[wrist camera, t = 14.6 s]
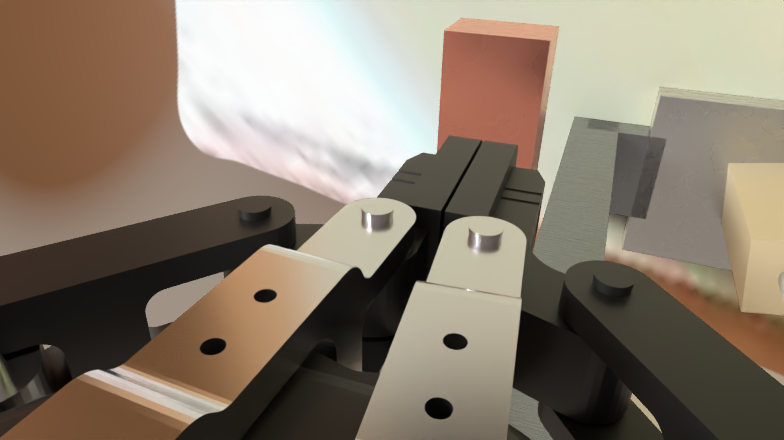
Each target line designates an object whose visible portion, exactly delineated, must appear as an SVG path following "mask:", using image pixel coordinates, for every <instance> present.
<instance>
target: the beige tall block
mask: <svg viewBox="0 0 784 440" xmlns="http://www.w3.org/2000/svg"><path fill="white" fill-rule="evenodd" d="M722 229H723V233H724V237H725V242H726V246H727V251H728V255H729V260H730V264H731V269H732V273H733V278H734V282H735V286H736V291H737V295H738V300H739V304H740V309H741V312H750V313H762V314H774V315H784V163H729V164H728V172H727V181H726V190H725V198H724V207H723V215H722Z"/></svg>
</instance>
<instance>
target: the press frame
mask: <svg viewBox="0 0 784 440" xmlns="http://www.w3.org/2000/svg"><path fill="white" fill-rule="evenodd" d="M729 163H784V101H779V100H771V99H762V98H753V97H744V96H735V95H726V94H717V93H709V92H700V91H691V90H682V89H673V88H664V87H660V89H659V93H658V97H657V101H656V105H655V109H654V113H653V117H652V121H651V125H650V126H642V125H635V124H627V123H619V122H612V121H604V120H597V119H589V118H582V117H574V120H573V124H572V127H571V130H570V133H569V137H568V140H567V143H566V146H565V150H564V153H563V156H562V159H561V163H560V166H559V169H558V172H557V176H556V179H555V182H554V185H553V189H552V192H551V195H550V198H549V202H548V205H547V208H546V211H545V214H544V218H543V221H542V224H541V227H540V231H539V234H538V237H537V240H536V244H535V247H534V250H533V254H534V255H535V256H536V257H537V258H538V259H539V260H540V261H541V262H543V263H544V264H546V265H547V266H549V267H551V268H553V269H555V270H557V271H560V272H562V273H566V271H567V270H568V269H569V268H570V267H571V266H573V265H575V264H577V263H580V262H584V261H591V260H600V261H604V255H605V246H606V237H607V228H608V219H609V213H613V214H618V215H624V216H628V218H627V222H626V226H625V230H624V234H623V245H622V250H627V251H632V252H638V253H643V254H648V255H653V256H658V257H664V258H669V259H674V260H679V261H684V262H690V263H695V264H700V265H705V266H710V267H716V268H721V269H726V270H731V271H732V269H731V264H730V260H729V255H728V251H727V246H726V242H725V237H724V233H723V229H722V215H723V207H724V198H725V190H726V181H727V172H728V164H729ZM538 403H539V402H538V401H537V400H535V399H533V398H531V397H529V396H527V395H525V394H524V393H522V392H520V391H518V390H516V389H514V388H512V395H511V404H510V413H509V422H508V424H510V425H511V426H513V427H514V428H516V429H517V430H519V431H520V432H522V433H523V434H525V435H526V436H527V437H528V438H530V439H531V440H553V439H552V437H551V436H550V435H549V433H548V432H547V430H546V429H545V428H544V426H543V424H542V423H541V421H540V418H539V416H538Z"/></svg>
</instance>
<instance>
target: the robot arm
mask: <svg viewBox="0 0 784 440" xmlns="http://www.w3.org/2000/svg"><path fill="white" fill-rule="evenodd" d="M517 154H518V145H513V144H506V143H499V142H492V141H484V142H483V141H482V140H478V139H471V138H464V137H457V136H448V138H447V139H446V141H445V142H444V143H443V145H442V146H441V148H440V149H439V150H438V152H437V153H436V155H434V154H428V153H421V154H419V155H417V156H415V157H413V158H410V159H408V160H407V161H406V162H405V163H404V164H403V166H402V167H401V168H400V169H399V172H397V173H396V174H395V176H394V177H393V178H392V180H391V181H390V182H389V183H388V184H387V186H386V187H385V188H384V189H383V191H382V192H381V193H380V194H379V196H378V197H377V198H366V199H360V200H356V201H354V202H351V203H349V204H347V205H346V206H345V207H343V208H342V209H341V210H340V211H339V212H338V213H336V214H335V215H334V216H333V217H332V218H331V219H330V220H329V221H328V222H327V223H326V224H296V223H295V210H294V207H293V206H292V205H291V204H290V203H289V202H287V201H285V200H283V199H280V198H276V197H270V196H251V197H244V198H240V199H235V200H232V201H227V202H223V203H219V204H215V205H211V206H207V207H202V208H198V209H194V210H190V211H186V212H182V213H178V214H174V215H169V216H165V217H161V218H157V219H153V220H149V221H145V222H141V223H136V224H133V225H128V226H124V227H120V228H116V229H112V230H108V231H104V232H99V233H95V234H91V235H87V236H83V237H79V238H74V239H71V240H66V241H62V242H58V243H54V244H50V245H46V246H41V247H38V248H33V249H29V250H25V251H21V252H17V253H13V254H9V255H4V256H0V440H531V439H530V438H528V437H527V436H526V435H525V434H523V433H522V432H520V431H519V430H517V429H516V428H514V427H513V426H511V425H510V424H508V422H509V413H510V404H511V395H512V388H514V389H516V390H518V391H520V392H522V393H524V394H525V395H527V396H529V397H531V398H533V399H535V400H537V401H538V402H539V403H538V416H539V418H540V421H541V423H542V424H543V426H544V428H545V429H546V430H547V432H548V433H549V435H550V436H551V437H552V439H553V440H784V386H783V385H782V384H781V383H779V382H778V381H777V380H776V379H775V378H773V377H772V376H771V375H770V374H768V373H767V372H766V371H765V370H763V369H762V368H761V367H760V366H758V365H757V364H756V363H755V362H753V361H752V360H751V359H750V358H748V357H747V356H746V355H745V354H743V353H742V352H741V351H740V350H738V349H737V348H736V347H735V346H733V345H732V344H731V343H730V342H729V341H727V340H726V339H725V338H724V337H722V336H721V335H720V334H719V333H717V332H716V331H715V330H714V329H712V328H711V327H710V326H709V325H707V324H706V323H705V322H704V321H702V320H701V319H700V318H699V317H697V316H696V315H695V314H694V313H692V312H691V311H690V310H689V309H687V308H686V307H685V306H684V305H683V304H681V303H680V302H679V301H678V300H676V299H675V298H674V297H673V296H671V295H670V294H669V293H668V292H666V291H665V290H664V289H663V288H661V287H660V286H659V285H658V284H656V283H655V282H654V281H653V280H651V279H650V278H649V277H647V276H646V275H645V274H643V273H641V272H640V271H638V270H636V269H633V268H631V267H629V266H626V265H623V264H619V263H615V262H610V261H600V260H591V261H584V262H580V263H577V264H575V265H573V266H571V267H570V268H569V269H568V270H567V271H566V273H562V272H560V271H557V270H555V269H553V268H551V267H549V266H547V265H546V264H544V263H543V262H541V261H540V260H539V259H538V258H537V257H536V256H535V255H534V254H533V249H534V244H535V239H536V233H537V227H538V222H539V216H540V210H541V204H542V198H543V192H544V186H545V181H544V179H543V178H542V176H541V175H540V173H539V172H538V170H531V169H525V168H519V167H516V162H517ZM219 272H224V279H223V280H222V281H221V282H220V283H219V284H217V285H216V286H215V287H214V288H213V289H212V290H210V291H209V292H208V293H207V294H206V295H204V296H203V297H202V298H201V299H200V300H199V301H197V302H196V303H195V304H194V305H193V306H191V307H190V308H189V309H188V310H187V311H185V312H184V313H183V314H182V315H181V316H180V317H178V318H177V319H176V320H175V321H174V322H171V323H168V324H165V325H162V326H159V327H148V323H147V318H146V314H145V309H146V305H147V303H148V301H149V300H150V299H151V297H152V296H154V295H155V294H156V293H157V292H159V291H161V290H164V289H167V288H170V287H173V286H177V285H180V284H183V283H187V282H190V281H193V280H196V279H200V278H203V277H206V276H210V275H213V274H216V273H219ZM43 344H44V345H45V344H46V345H52V346H50V347H49V348H47V349H45V350H44V347H43ZM632 393H633V394H634V395H635V396H636V397H637V398H638V399H639V400H640V402H641V403H642V404H643V405H644V406H645V407H646V408H647V409H648V410H649V411H650V412H651V414H652V415H653V416H654V417H655V419H656V421H657V422H658V424H659V426H660V429H661V431H662V433H661V432H660V431H659V430H658V429H657V427H656V426H655V425H654V424H653V423H652V422H651V421H650V420H649V419H648V418H647V416H646V415H645V414H644V413H643V412H642V411H641V410H640V409H639V408H638V407H637V406H636V405H635V403H634V402H633V401H632V400H631V399H630V398H631V395H632Z"/></svg>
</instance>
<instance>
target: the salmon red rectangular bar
mask: <svg viewBox="0 0 784 440" xmlns="http://www.w3.org/2000/svg"><path fill="white" fill-rule="evenodd" d="M558 30H559V26H548V25H536V24H525V23H514V22H502V21H491V20H480V19H469V18H461V19H460V20H458V21H457V22H456V23H454V24H453V25H451V26H450V27H449V28H447V29H446V30H444V44H443V61H442V78H441V95H440V112H439V129H438V146H437V152H438V150H439V149H440V148H441V146H442V145H443V143H444V142H445V141H446V139H447V138H448V136H457V137H464V138H471V139H478V140H482V141H483V142H484V141H492V142H499V143H506V144H513V145H518V154H517V162H516V167H519V168H525V169H531V170H537V168H538V161H539V155H540V148H541V142H542V135H543V129H544V122H545V116H546V109H547V102H548V96H549V89H550V83H551V76H552V70H553V63H554V56H555V50H556V43H557V37H558Z"/></svg>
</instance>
